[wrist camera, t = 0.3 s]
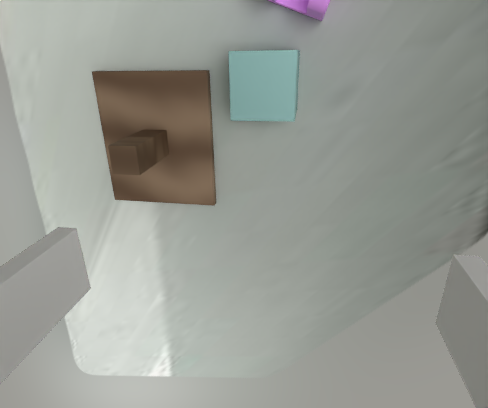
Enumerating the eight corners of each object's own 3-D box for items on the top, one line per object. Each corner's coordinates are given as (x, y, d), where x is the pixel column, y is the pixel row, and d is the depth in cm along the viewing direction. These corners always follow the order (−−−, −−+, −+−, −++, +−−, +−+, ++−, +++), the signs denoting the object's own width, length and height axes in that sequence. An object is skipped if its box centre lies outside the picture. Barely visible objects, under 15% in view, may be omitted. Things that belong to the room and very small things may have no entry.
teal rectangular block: (243, 51, 32) (228, 51, 26) (299, 50, 31) (297, 49, 25) (244, 108, 34) (230, 120, 28) (297, 109, 33) (294, 121, 27)
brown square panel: (96, 71, 35) (43, 75, 28) (209, 70, 33) (182, 74, 26) (118, 197, 41) (78, 226, 34) (216, 202, 39) (195, 235, 32)
